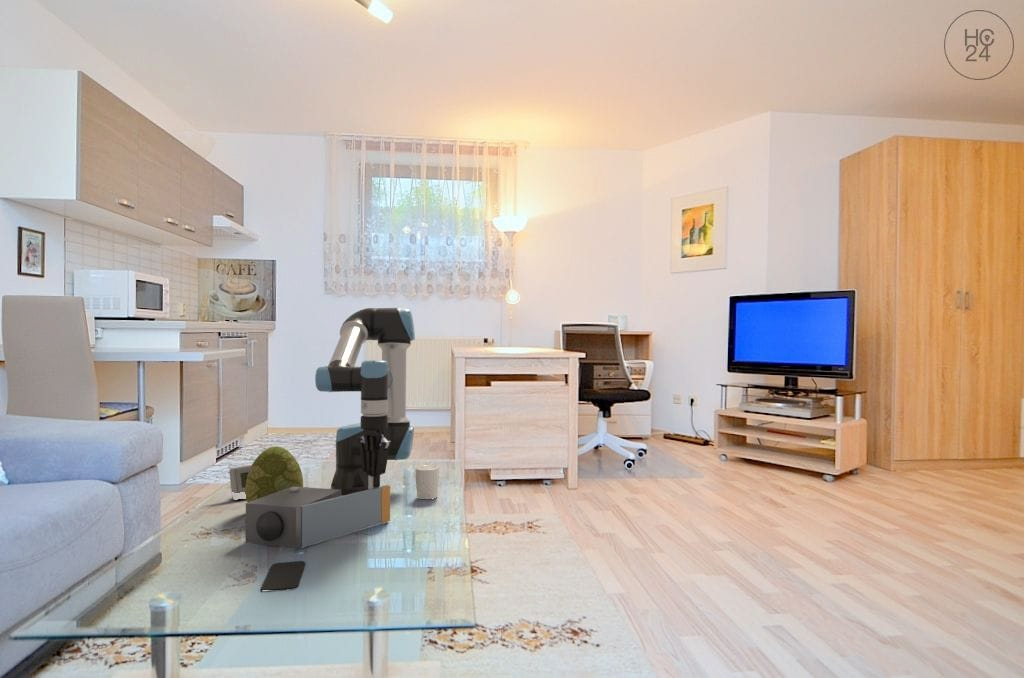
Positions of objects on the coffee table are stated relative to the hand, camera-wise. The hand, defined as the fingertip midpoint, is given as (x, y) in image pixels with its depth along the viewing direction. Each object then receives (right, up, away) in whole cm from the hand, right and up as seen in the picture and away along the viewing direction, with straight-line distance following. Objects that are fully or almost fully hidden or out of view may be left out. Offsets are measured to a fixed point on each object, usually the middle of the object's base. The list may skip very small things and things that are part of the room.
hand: (373, 498), depth 163 cm
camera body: (-19, -7, -8) cm, 22 cm away
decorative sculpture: (-33, -8, +13) cm, 37 cm away
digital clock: (-48, -9, +32) cm, 58 cm away
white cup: (+11, -8, +30) cm, 33 cm away
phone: (-11, -7, -37) cm, 39 cm away
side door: (-5, -7, -9) cm, 13 cm away
